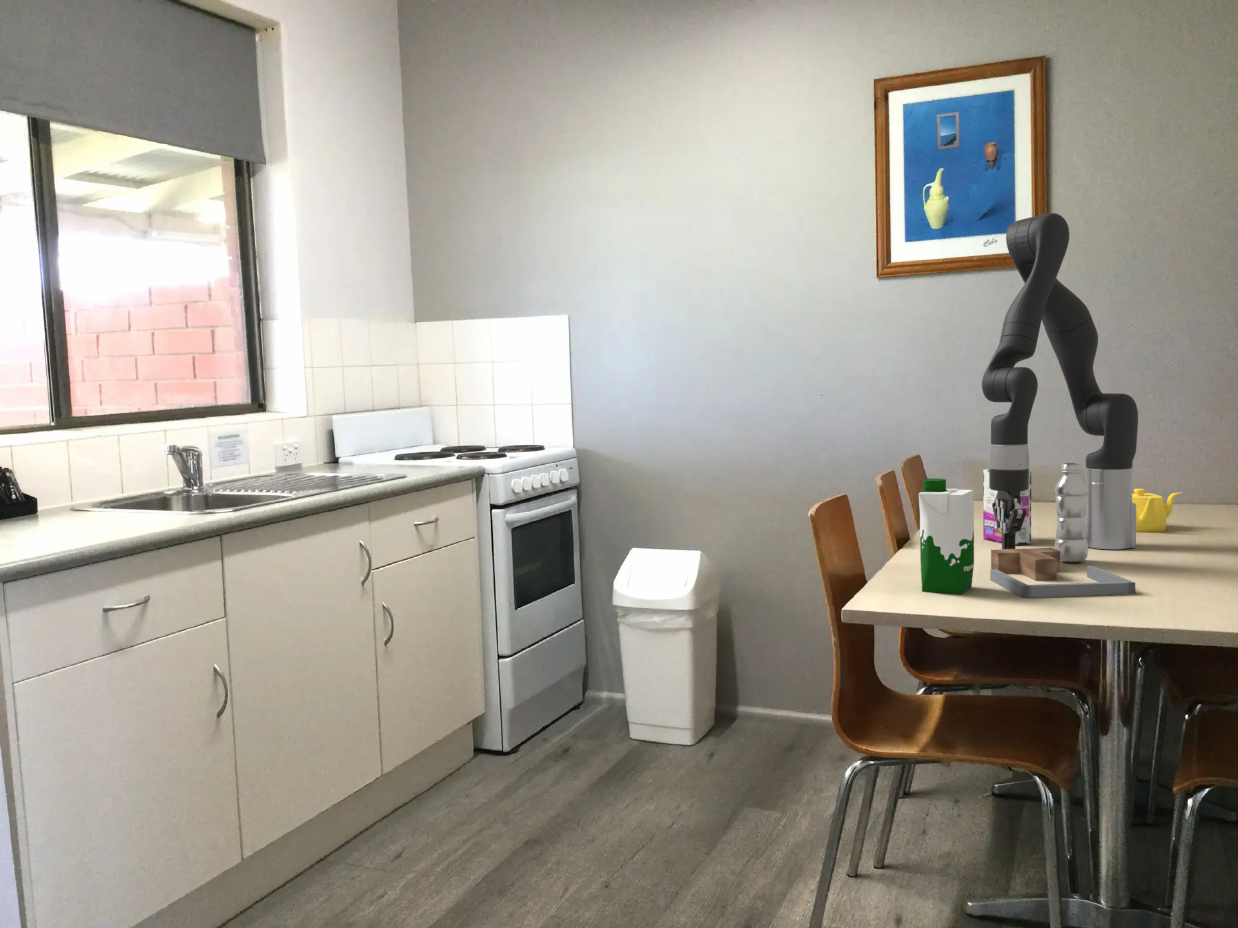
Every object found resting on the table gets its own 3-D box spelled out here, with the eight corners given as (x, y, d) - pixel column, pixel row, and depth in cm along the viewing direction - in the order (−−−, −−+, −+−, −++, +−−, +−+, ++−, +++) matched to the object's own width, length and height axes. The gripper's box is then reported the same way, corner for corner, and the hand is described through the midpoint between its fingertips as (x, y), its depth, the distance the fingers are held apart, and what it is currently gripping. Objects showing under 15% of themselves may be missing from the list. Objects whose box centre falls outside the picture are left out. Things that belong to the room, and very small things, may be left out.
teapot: (1153, 535, 244) (1154, 493, 243) (1095, 529, 255) (1095, 489, 254) (1184, 528, 252) (1184, 488, 252) (1126, 523, 264) (1126, 484, 263)
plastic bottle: (1087, 559, 217) (1087, 462, 215) (1090, 565, 211) (1090, 465, 209) (1053, 558, 219) (1053, 462, 217) (1054, 564, 213) (1055, 465, 211)
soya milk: (929, 582, 199) (928, 476, 197) (978, 586, 194) (978, 477, 192) (915, 591, 192) (914, 481, 190) (966, 596, 187) (965, 483, 185)
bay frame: (1093, 576, 200) (1093, 565, 200) (1135, 594, 184) (1135, 582, 184) (990, 579, 200) (990, 569, 200) (1023, 597, 184) (1023, 586, 183)
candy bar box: (1032, 544, 237) (1032, 471, 236) (1014, 546, 236) (1014, 472, 234) (1000, 537, 248) (1000, 467, 246) (982, 539, 246) (981, 468, 245)
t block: (1051, 567, 210) (1051, 547, 209) (1078, 579, 198) (1078, 558, 198) (991, 569, 210) (991, 549, 209) (1013, 581, 198) (1013, 560, 197)
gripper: (1040, 468, 208) (1039, 556, 209) (1015, 463, 221) (1014, 546, 222) (1002, 469, 208) (1001, 557, 209) (979, 464, 221) (978, 546, 222)
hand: (1008, 551), depth 216 cm, fingers closed
